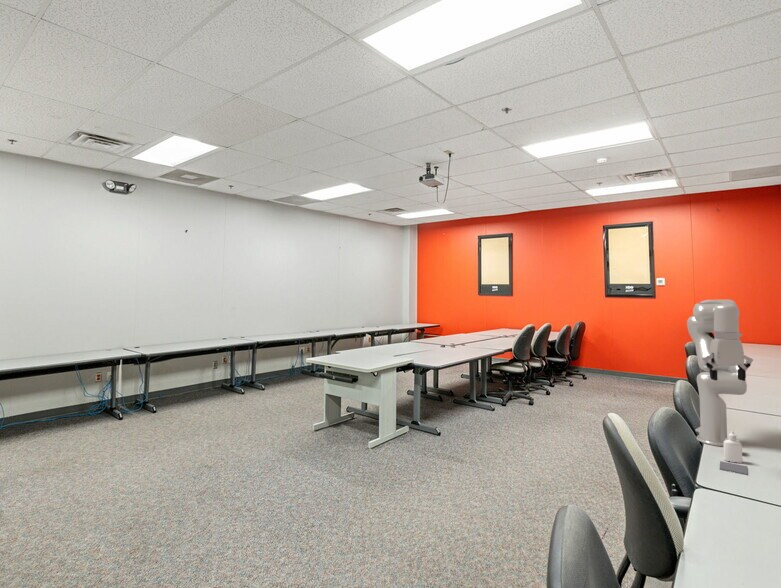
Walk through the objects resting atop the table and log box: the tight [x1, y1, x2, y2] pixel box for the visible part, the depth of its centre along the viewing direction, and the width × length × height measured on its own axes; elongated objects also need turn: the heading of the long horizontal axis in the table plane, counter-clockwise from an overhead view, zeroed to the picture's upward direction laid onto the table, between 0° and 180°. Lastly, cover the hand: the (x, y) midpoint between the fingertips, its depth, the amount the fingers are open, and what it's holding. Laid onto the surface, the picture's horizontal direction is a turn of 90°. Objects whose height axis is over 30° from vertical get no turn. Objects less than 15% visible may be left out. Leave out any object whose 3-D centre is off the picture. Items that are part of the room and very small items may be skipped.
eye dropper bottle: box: [723, 430, 743, 464], centre depth 163 cm, size 4×6×12 cm
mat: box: [719, 460, 748, 476], centre depth 156 cm, size 9×8×1 cm
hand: (727, 379), depth 160 cm, fingers open, 9 cm apart
